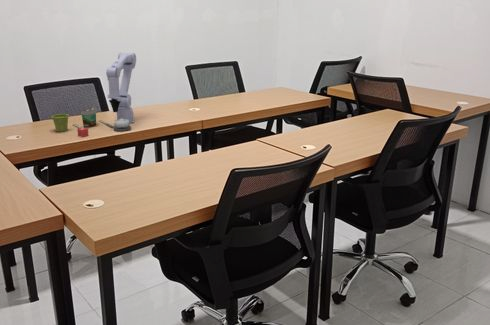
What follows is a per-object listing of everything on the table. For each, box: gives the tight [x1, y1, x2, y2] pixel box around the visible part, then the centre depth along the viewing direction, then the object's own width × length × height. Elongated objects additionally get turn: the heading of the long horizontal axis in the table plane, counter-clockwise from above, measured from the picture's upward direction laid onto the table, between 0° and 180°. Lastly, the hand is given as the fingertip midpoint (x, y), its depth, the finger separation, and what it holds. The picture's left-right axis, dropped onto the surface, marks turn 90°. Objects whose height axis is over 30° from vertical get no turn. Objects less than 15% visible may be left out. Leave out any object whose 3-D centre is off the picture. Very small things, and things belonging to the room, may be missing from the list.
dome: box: [114, 118, 130, 127], centre depth 286 cm, size 8×8×4 cm
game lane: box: [72, 119, 115, 129], centre depth 293 cm, size 18×20×1 cm
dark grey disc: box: [112, 125, 132, 133], centre depth 287 cm, size 10×10×1 cm
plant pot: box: [50, 113, 70, 133], centre depth 283 cm, size 9×9×9 cm
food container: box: [80, 106, 98, 128], centre depth 293 cm, size 12×6×10 cm, turn 168°
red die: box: [76, 126, 90, 138], centre depth 273 cm, size 4×4×4 cm
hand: (115, 111), depth 288 cm, fingers closed
